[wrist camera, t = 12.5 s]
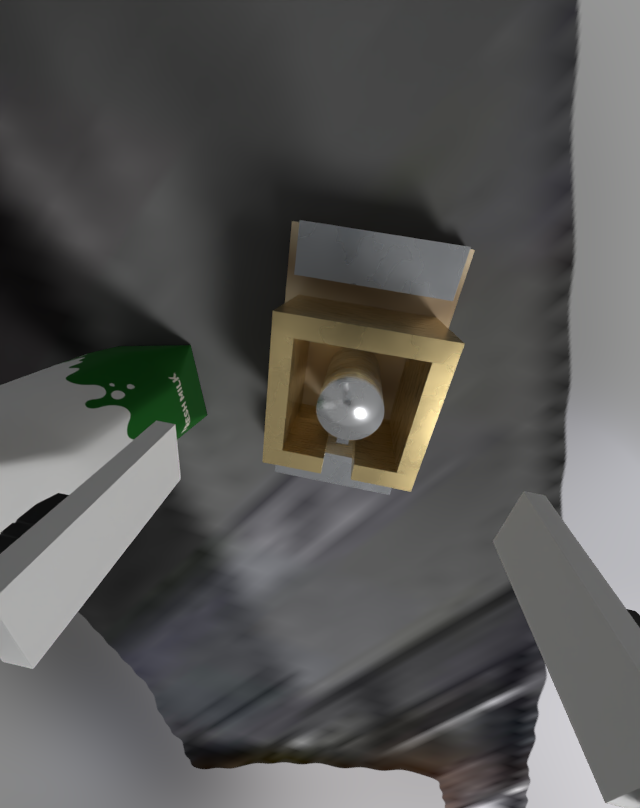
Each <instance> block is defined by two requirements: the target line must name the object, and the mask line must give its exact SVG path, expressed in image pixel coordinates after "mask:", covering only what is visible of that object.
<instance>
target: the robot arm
mask: <svg viewBox="0 0 640 808" xmlns="http://www.w3.org/2000/svg"><path fill="white" fill-rule="evenodd" d="M180 479H181V476H180V466H179V456H178V445H177V435H176V425H175V424H171V423H166V422H161V421H155V422H154V423H153V424H152V425H150V426H149V427H148V428H147V429H146V430H145V431H143V432H142V433H141V434H140V435H139V436H138V437H136V438H135V439H134V440H133V441H132V442H131V443H129V444H128V445H127V446H126V447H125V448H124V449H122V450H121V451H120V452H119V453H118V454H117V455H115V456H114V457H113V458H112V459H111V460H110V461H108V462H107V463H106V464H105V465H104V466H103V467H101V468H100V469H99V470H98V471H97V472H96V473H94V474H93V475H92V476H91V477H90V478H88V479H87V480H86V481H85V482H84V483H83V484H81V485H80V486H79V487H78V488H77V489H76V490H74V491H73V492H72V493H71V494H70V495H66V494H61V493H57V494H55V495H53V496H51V497H49V498H47V499H45V500H43V501H41V502H39V503H37V504H36V505H34V506H33V507H32V508H31V509H29V510H28V511H27V512H26V513H24V514H23V515H22V516H21V517H19V518H18V519H17V521H16V522H15V523H12V524H10V525H9V526H8V527H7V528H5V529H4V530H3V531H2V532H1V534H0V659H1V660H2V662H6V663H10V664H14V665H19V666H23V667H27V668H31V669H33V668H34V667H35V666H36V665H37V663H38V662H39V661H40V660H41V658H42V657H43V655H44V654H45V653H46V652H47V650H48V649H49V648H50V647H51V645H52V644H53V643H54V641H55V640H56V639H57V637H58V636H59V635H60V634H61V632H62V631H63V630H64V629H65V627H66V626H67V625H68V623H69V622H70V621H71V620H72V618H73V617H74V616H75V614H76V613H77V612H78V611H79V609H80V608H81V607H82V605H83V604H84V603H85V602H86V600H87V599H88V598H89V596H90V595H91V594H92V593H93V591H94V590H95V589H96V587H97V586H98V585H99V584H100V582H101V581H102V580H103V578H104V577H105V576H106V575H107V573H108V572H109V571H110V569H111V568H112V567H113V565H114V564H115V563H116V562H117V560H118V559H119V558H120V556H121V555H122V554H123V553H124V551H125V550H126V549H127V547H128V546H129V545H130V544H131V542H132V541H133V540H134V538H135V537H136V536H137V535H138V533H139V532H140V531H141V529H142V528H143V527H144V526H145V524H146V523H147V522H148V520H149V519H150V518H151V517H152V515H153V514H154V513H155V511H156V510H157V509H158V508H159V506H160V505H161V504H162V502H163V501H164V500H165V499H166V497H167V496H168V495H169V493H170V492H171V491H172V489H173V488H174V487H175V486H176V484H177V483H178V482H179V480H180ZM493 543H494V546H495V548H496V550H497V553H498V555H499V557H500V560H501V562H502V564H503V567H504V569H505V571H506V574H507V576H508V578H509V580H510V583H511V585H512V587H513V590H514V592H515V594H516V597H517V599H518V601H519V604H520V606H521V608H522V611H523V613H524V615H525V618H526V620H527V622H528V625H529V627H530V629H531V632H532V634H533V636H534V638H535V641H536V643H537V645H538V648H539V650H540V652H541V655H542V657H543V659H544V662H545V664H546V666H547V669H548V671H549V673H550V676H551V678H552V680H553V682H554V685H555V687H556V690H557V692H558V694H559V696H560V699H561V701H562V703H563V706H564V708H565V710H566V713H567V715H568V717H569V720H570V722H571V724H572V727H573V729H574V731H575V734H576V736H577V738H578V740H579V743H580V745H581V747H582V750H583V752H584V755H585V757H586V759H587V761H588V764H589V766H590V768H591V771H592V773H593V775H594V778H595V780H596V782H597V784H598V787H599V789H600V792H601V794H602V796H603V799H604V801H605V803H607V804H611V805H615V806H619V807H624V808H640V615H639V614H638V613H637V612H636V611H632V610H628V609H626V608H625V607H624V605H623V604H622V603H621V601H620V600H619V598H618V597H617V595H616V594H615V593H614V591H613V590H612V588H611V587H610V586H609V584H608V583H607V581H606V580H605V579H604V577H603V576H602V575H601V573H600V572H599V570H598V569H597V568H596V566H595V565H594V563H593V562H592V561H591V559H590V558H589V556H588V555H587V554H586V552H585V551H584V549H583V548H582V547H581V545H580V544H579V542H578V541H577V540H576V538H575V537H574V536H573V534H572V533H571V531H570V530H569V528H568V527H567V526H566V524H565V523H564V521H563V520H562V519H561V517H560V516H559V514H558V513H557V512H556V510H555V509H554V507H553V506H552V505H551V503H550V502H549V500H548V499H547V498H546V496H545V495H540V494H535V493H530V492H524V491H523V493H522V495H521V496H520V498H519V499H518V501H517V503H516V504H515V506H514V508H513V509H512V511H511V512H510V514H509V516H508V517H507V519H506V521H505V522H504V524H503V525H502V527H501V529H500V530H499V532H498V534H497V535H496V537H495V538H494V540H493Z"/></svg>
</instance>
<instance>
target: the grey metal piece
mask: <svg viewBox="0 0 640 808" xmlns="http://www.w3.org/2000/svg"><path fill="white" fill-rule="evenodd" d="M470 248H471V247H467V246H461V245H455V244H448V243H442V242H436V241H430V240H423V239H417V238H411V237H404V236H398V235H392V234H385V233H379V232H373V231H366V230H360V229H354V228H347V227H341V226H335V225H328V224H322V223H316V222H309V221H303V220H299V231H298V241H297V251H296V262H295V272H294V275H300V276H306V277H312V278H318V279H324V280H330V281H336V282H342V283H348V284H354V285H359V286H365V287H371V288H377V289H383V290H389V291H395V292H401V293H407V294H413V295H419V296H425V297H431V298H437V299H443V300H449V301H453V300H454V297H455V294H456V291H457V288H458V285H459V282H460V279H461V276H462V272H463V269H464V266H465V263H466V260H467V257H468V254H469V251H470ZM316 413H317V417H318V420H319V422H320V424H321V425H322V427H323V428H324V429H325V430H326V431H327V432H328V433H330V434H331V435H333V436H335V437H337V438H334V437H329V436H328V441H327V446H326V451H325V456H324V461H323V466H322V471H321V474H320V473H315V472H310V471H305V470H300V469H295V468H290V467H285V466H280V465H276V467H275V472H279V473H284V474H289V475H294V476H299V477H304V478H309V479H314V480H319V481H324V482H329V483H334V484H338V485H343V486H348V487H353V488H358V489H363V490H368V491H373V492H378V493H383V494H388V495H389V494H390V491H391V488H390V487H385V486H380V485H375V484H370V483H365V482H360V481H355V480H351V466H352V451H353V441H350V440H358V439H362V438H365V437H367V436H369V435H371V434H372V433H374V432H375V431H376V430H377V429H378V427H379V426H380V425H381V423H382V420H383V417H384V402H383V394H382V385H381V377H380V368H379V363H378V360H377V358H376V357H375V355H374V354H373V353H372V352H369V351H364V350H358V349H352V348H346V347H345V348H343V349H341V350H339V351H338V352H337V353H336V354H335V355H334V356H333V357H332V359H331V361H330V364H329V367H328V370H327V373H326V376H325V379H324V383H323V386H322V389H321V392H320V395H319V398H318V401H317V406H316Z"/></svg>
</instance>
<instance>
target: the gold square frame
mask: <svg viewBox="0 0 640 808" xmlns="http://www.w3.org/2000/svg"><path fill="white" fill-rule="evenodd" d="M310 341H312V342H318V343H324V344H329V345H335V346H341V347H346V348H352V349H358V350H364V351H369V352H375V353H381V354H386V355H392V356H398V357H403V358H407V359H406V362H405V366H404V369H403V373H402V376H401V380H400V383H399V387H398V391H397V394H396V398H395V401H394V405H393V408H392V412H391V415H390V419H389V420H388V419H383V420H382V423H381V425H380V426H379V427H378V429H377V430H376V431H375V432H374V433H372V434H371V435H369V436H367V437H365V438H362V439H358V440H353V451H352V466H351V480H355V481H360V482H365V483H370V484H375V485H380V486H385V487H390V488H395V489H400V490H406V491H411V490H412V487H413V484H414V482H415V479H416V476H417V473H418V471H419V468H420V465H421V462H422V460H423V457H424V454H425V451H426V449H427V446H428V443H429V440H430V438H431V435H432V432H433V429H434V427H435V424H436V421H437V418H438V416H439V413H440V410H441V407H442V405H443V402H444V399H445V396H446V394H447V391H448V388H449V385H450V382H451V380H452V377H453V374H454V371H455V369H456V366H457V363H458V360H459V358H460V355H461V352H462V349H463V347H464V343H463V342H462V341H461V340H460V339H459V338H458V337H457V336H456V335H455V334H454V333H453V332H452V331H450V330H449V329H448V328H447V327H446V326H445V325H444V324H443V323H442V322H441V321H440V320H439V319H438V318H437V317H431V316H425V315H419V314H413V313H407V312H401V311H395V310H389V309H383V308H377V307H371V306H365V305H359V304H353V303H347V302H341V301H335V300H329V299H323V298H317V297H311V296H305V295H299V294H298V295H297V296H295V297H294V298H292V299H291V300H289V301H287V302H286V303H284V304H283V305H281V306H280V307H278V308H277V309H275V310H273V314H272V329H271V344H270V359H269V374H268V389H267V403H266V418H265V433H264V448H263V462H265V463H270V464H275V465H280V466H285V467H290V468H295V469H300V470H305V471H310V472H315V473H320V474H321V471H322V466H323V461H324V456H325V451H326V446H327V441H328V436H329V433H328V432H327V431H326V430H325V429H324V428H323V427H322V425H321V424H320V422H319V420H318V417H317V413H316V406H313V405H307V404H302V399H303V391H304V383H305V375H306V367H307V360H308V352H309V344H310Z"/></svg>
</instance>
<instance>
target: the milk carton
mask: <svg viewBox="0 0 640 808" xmlns="http://www.w3.org/2000/svg"><path fill="white" fill-rule="evenodd" d="M205 416H207V411H206V407H205V403H204V399H203V395H202V391H201V386H200V382H199V378H198V374H197V370H196V366H195V361H194V357H193V353H192V349H191V345H166V346H117V347H113V348H109V349H105V350H100V351H96V352H92V353H88V354H85V355H82V356H80V357H77V358H74V359H71V360H68V361H66V362H63V363H60V364H57V365H55V366H52V367H49V368H46V369H44V370H41V371H38V372H36V373H33V374H30V375H27V376H25V377H22V378H19V379H16V380H14V381H11V382H8V383H5V384H3V385H0V534H1V532H2V531H3V530H4V529H5V528H7V527H8V526H9V525H10V524H12V523H15V522H16V521H17V519H18V518H19V517H21V516H22V515H23V514H24V513H26V512H27V511H28V510H29V509H31V508H32V507H33V506H34V505H36V504H37V503H39V502H41V501H43V500H45V499H47V498H49V497H51V496H53V495H55V494H57V493H61V494H66V495H70V494H71V493H72V492H73V491H74V490H76V489H77V488H78V487H79V486H80V485H81V484H83V483H84V482H85V481H86V480H87V479H88V478H90V477H91V476H92V475H93V474H94V473H96V472H97V471H98V470H99V469H100V468H101V467H103V466H104V465H105V464H106V463H107V462H108V461H110V460H111V459H112V458H113V457H114V456H115V455H117V454H118V453H119V452H120V451H121V450H122V449H124V448H125V447H126V446H127V445H128V444H129V443H131V442H132V441H133V440H134V439H135V438H136V437H138V436H139V435H140V434H141V433H142V432H143V431H145V430H146V429H147V428H148V427H149V426H150V425H152V424H153V423H154V422H155V421H161V422H166V423H171V424H175V425H176V435H177V439H178V438H180V437H181V436H182V435H183V434H185V433H186V432H187V431H188V430H189V429H191V428H192V427H193V426H194V425H196V424H197V423H198V422H199V421H201V420H202V419H203V418H204V417H205Z"/></svg>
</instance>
